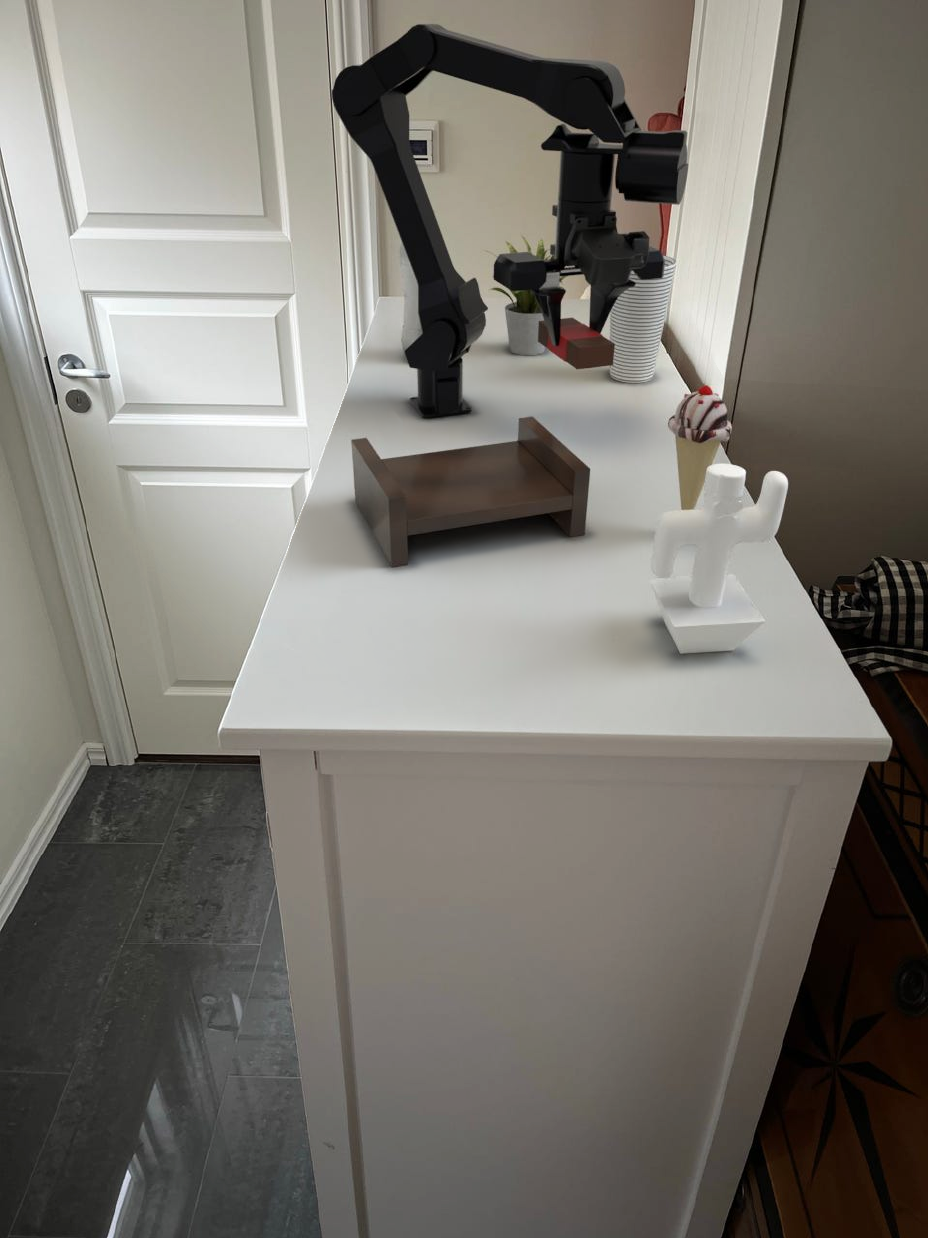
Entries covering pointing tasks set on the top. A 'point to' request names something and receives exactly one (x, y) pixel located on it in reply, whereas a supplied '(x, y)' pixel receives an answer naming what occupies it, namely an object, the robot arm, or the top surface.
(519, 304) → the house plant
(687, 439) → the ice cream cone
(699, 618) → the figurine
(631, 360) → the cup
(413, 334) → the plastic bottle
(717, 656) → the top surface
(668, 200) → the robot arm
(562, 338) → the chocolate bar
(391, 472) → the shelf
